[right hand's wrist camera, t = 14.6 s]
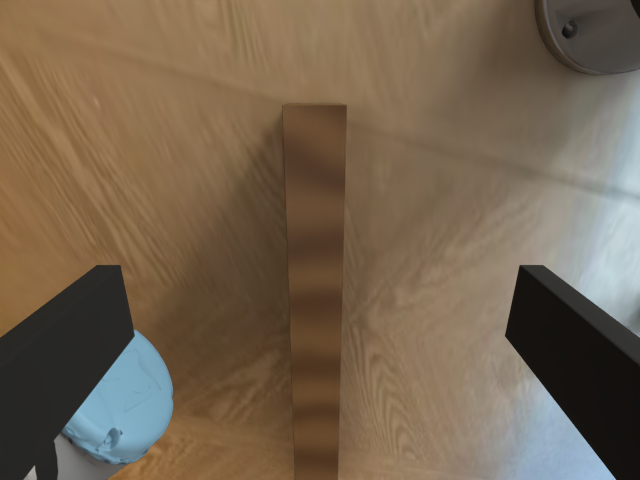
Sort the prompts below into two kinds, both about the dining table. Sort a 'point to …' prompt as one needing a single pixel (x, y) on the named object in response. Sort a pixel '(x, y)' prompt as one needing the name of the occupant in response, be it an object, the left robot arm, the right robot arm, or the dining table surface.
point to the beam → (315, 279)
